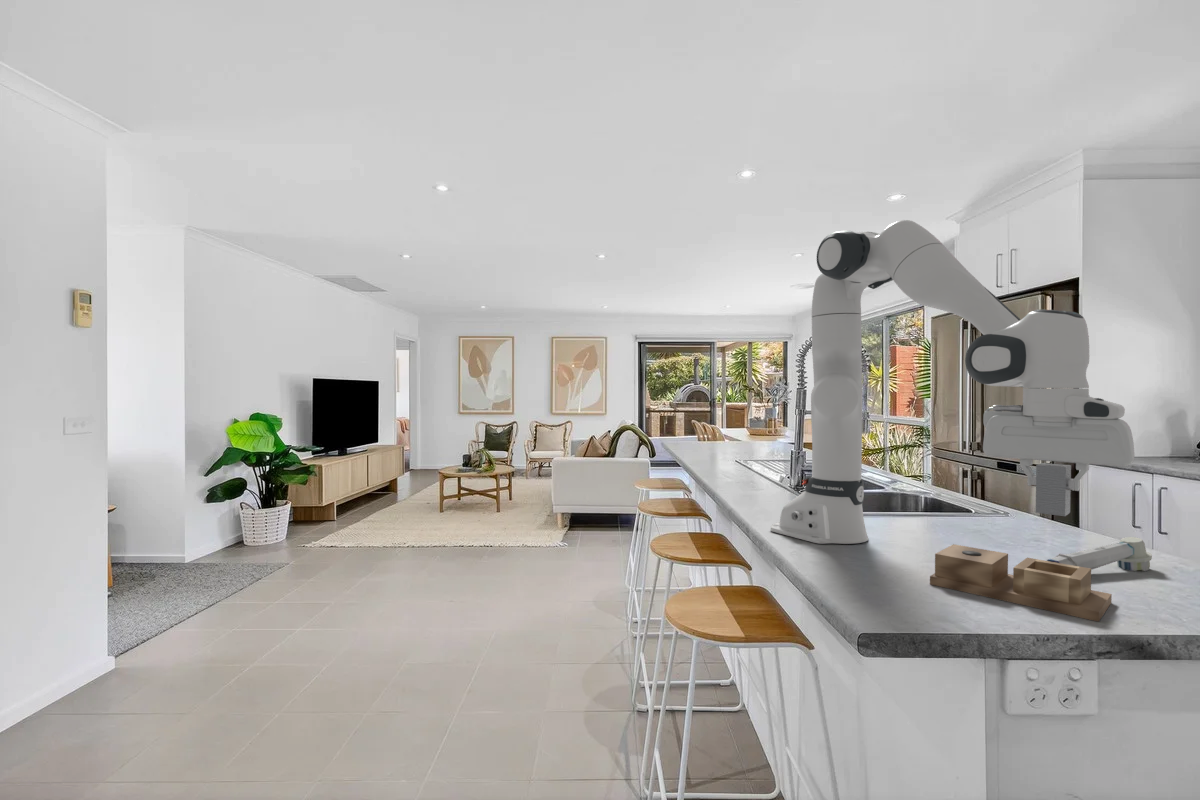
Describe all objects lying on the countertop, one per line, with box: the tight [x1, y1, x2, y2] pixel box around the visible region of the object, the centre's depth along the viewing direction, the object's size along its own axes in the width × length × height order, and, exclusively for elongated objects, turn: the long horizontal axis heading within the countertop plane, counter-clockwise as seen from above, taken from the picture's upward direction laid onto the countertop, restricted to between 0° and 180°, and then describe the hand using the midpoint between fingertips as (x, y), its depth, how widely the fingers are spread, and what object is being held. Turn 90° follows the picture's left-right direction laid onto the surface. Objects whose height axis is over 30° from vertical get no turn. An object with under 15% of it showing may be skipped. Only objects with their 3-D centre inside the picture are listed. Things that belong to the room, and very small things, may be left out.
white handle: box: [1046, 536, 1153, 572], centre depth 118 cm, size 5×7×25 cm
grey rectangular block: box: [1035, 462, 1072, 517], centre depth 102 cm, size 4×4×8 cm
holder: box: [929, 543, 1113, 622], centre depth 105 cm, size 24×12×6 cm, turn 43°
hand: (1053, 488), depth 102 cm, fingers closed on grey rectangular block, 4 cm apart
